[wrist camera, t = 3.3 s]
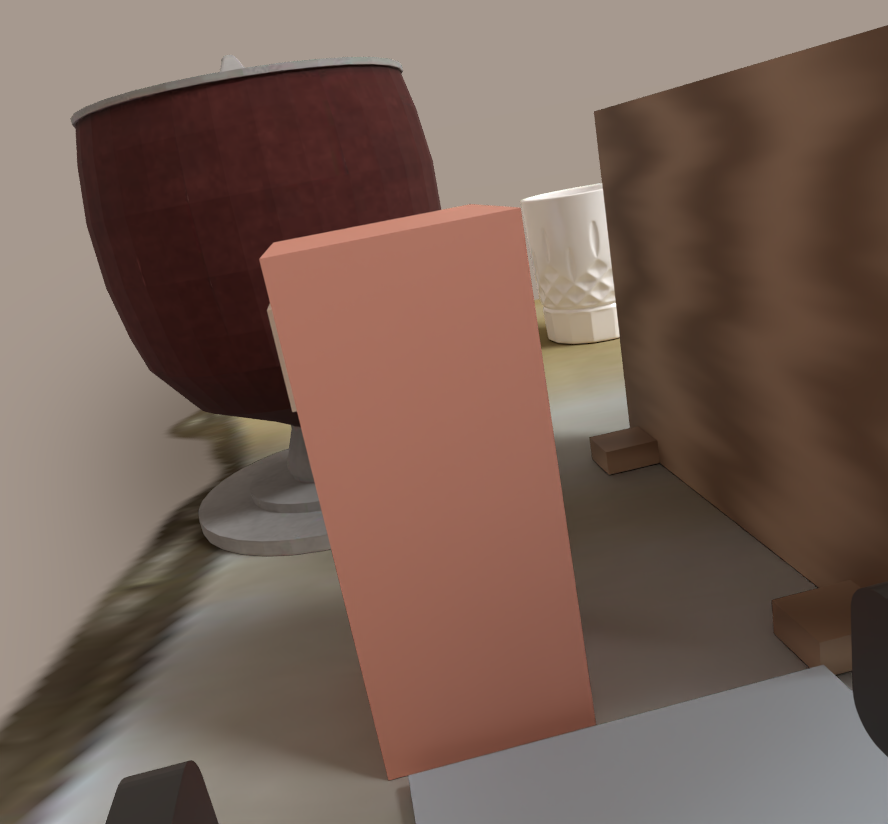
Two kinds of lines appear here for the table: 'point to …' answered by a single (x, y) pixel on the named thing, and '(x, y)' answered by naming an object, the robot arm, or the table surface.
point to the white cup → (572, 263)
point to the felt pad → (682, 766)
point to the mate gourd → (242, 240)
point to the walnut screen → (763, 311)
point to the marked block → (436, 477)
